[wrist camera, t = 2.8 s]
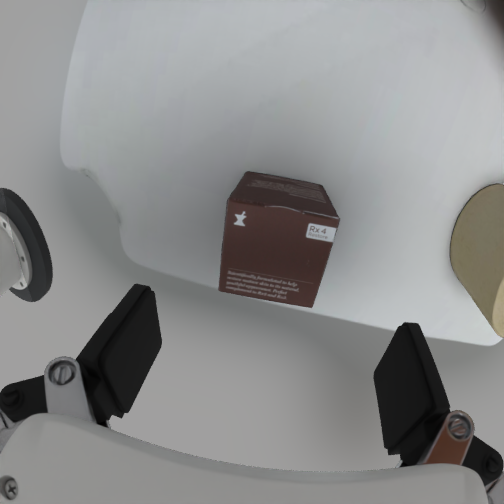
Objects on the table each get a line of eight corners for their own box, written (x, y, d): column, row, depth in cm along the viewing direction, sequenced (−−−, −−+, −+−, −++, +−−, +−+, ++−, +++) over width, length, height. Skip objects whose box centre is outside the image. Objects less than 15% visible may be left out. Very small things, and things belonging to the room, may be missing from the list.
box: (235, 240, 24) (214, 292, 17) (245, 169, 21) (225, 196, 14) (307, 254, 23) (313, 310, 17) (325, 184, 21) (342, 219, 14)
